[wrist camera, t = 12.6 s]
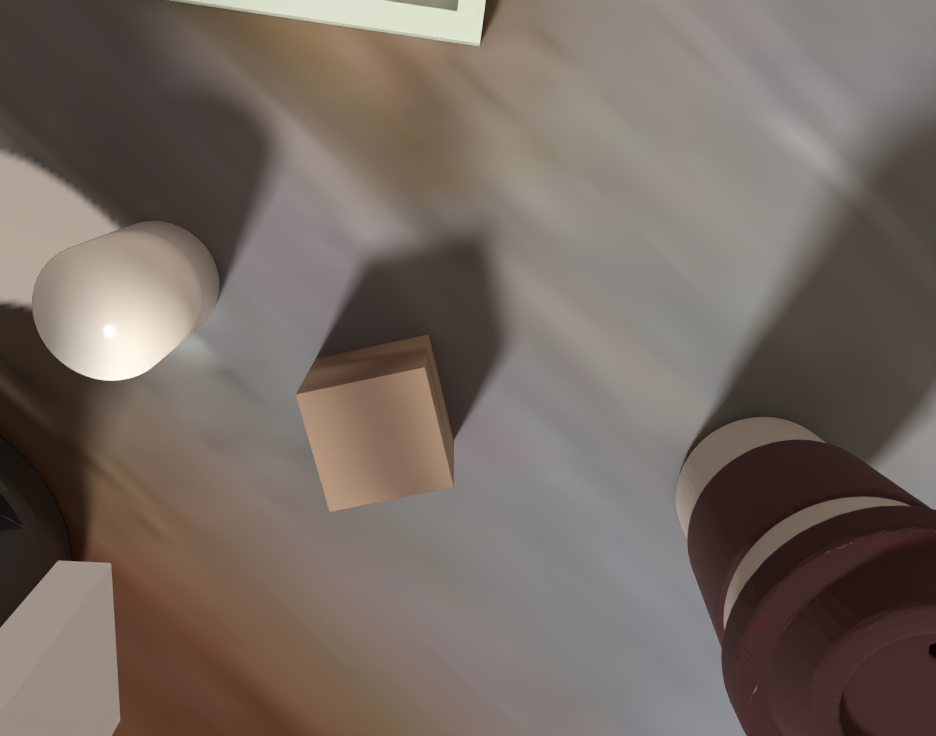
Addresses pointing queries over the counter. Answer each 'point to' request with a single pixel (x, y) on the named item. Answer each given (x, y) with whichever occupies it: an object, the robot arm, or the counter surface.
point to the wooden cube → (378, 423)
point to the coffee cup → (812, 583)
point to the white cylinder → (124, 299)
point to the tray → (377, 15)
